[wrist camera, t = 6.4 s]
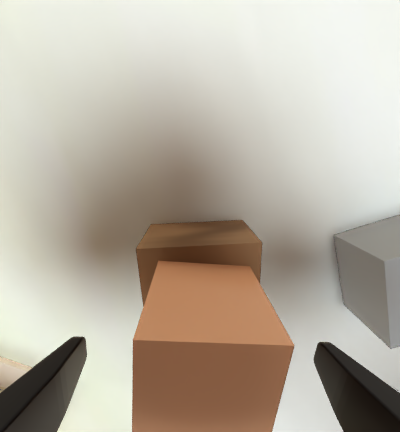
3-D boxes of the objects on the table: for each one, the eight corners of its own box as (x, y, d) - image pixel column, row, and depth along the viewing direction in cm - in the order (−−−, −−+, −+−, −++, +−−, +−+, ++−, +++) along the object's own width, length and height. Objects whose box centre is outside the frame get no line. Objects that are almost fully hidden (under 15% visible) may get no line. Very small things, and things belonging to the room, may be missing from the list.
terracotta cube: (249, 266, 10) (294, 345, 6) (237, 339, 11) (266, 451, 7) (158, 260, 10) (133, 339, 5) (155, 336, 11) (132, 451, 7)
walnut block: (241, 219, 14) (261, 242, 10) (240, 295, 15) (257, 342, 11) (151, 223, 13) (135, 248, 10) (159, 301, 15) (149, 349, 11)
